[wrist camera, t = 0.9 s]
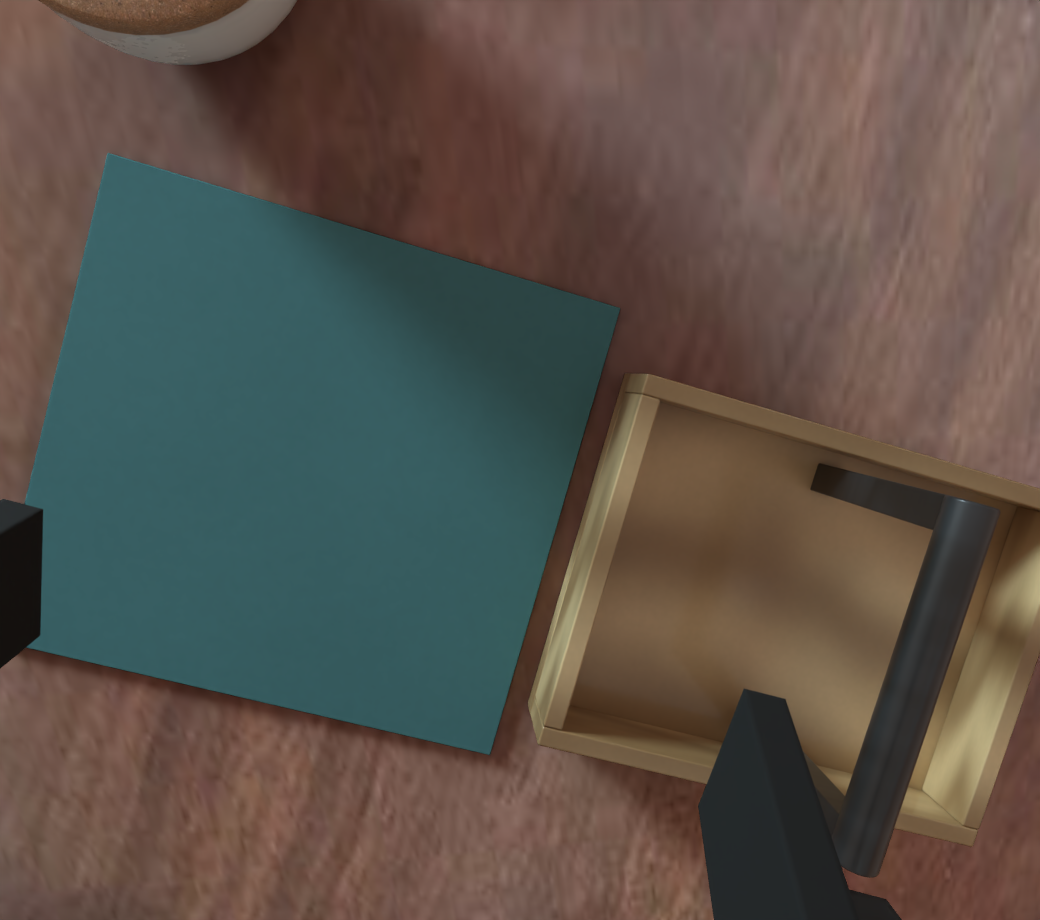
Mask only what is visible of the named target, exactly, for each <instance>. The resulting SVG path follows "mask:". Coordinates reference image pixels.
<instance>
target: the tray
mask: <svg viewBox="0 0 1040 920" xmlns="http://www.w3.org/2000/svg"><path fill="white" fill-rule="evenodd" d="M1039 654H1040V489H1039V488H1035V487H1032V486H1029V485H1025V484H1022V483H1018V482H1015V481H1012V480H1008V479H1005V478H1001V477H998V476H995V475H991V474H988V473H985V472H981V471H978V470H974V469H971V468H968V467H964V466H961V465H957V464H954V463H951V462H947V461H944V460H940V459H937V458H934V457H930V456H927V455H923V454H920V453H917V452H913V451H910V450H906V449H903V448H900V447H896V446H893V445H889V444H886V443H883V442H879V441H876V440H872V439H869V438H866V437H862V436H859V435H855V434H852V433H849V432H845V431H842V430H838V429H835V428H832V427H828V426H825V425H821V424H818V423H815V422H811V421H808V420H804V419H801V418H798V417H794V416H791V415H787V414H784V413H781V412H777V411H774V410H770V409H767V408H764V407H760V406H757V405H753V404H750V403H747V402H743V401H740V400H736V399H733V398H730V397H726V396H723V395H719V394H716V393H713V392H709V391H706V390H703V389H699V388H696V387H692V386H689V385H686V384H682V383H679V382H675V381H672V380H669V379H665V378H662V377H658V376H655V375H652V374H631V373H625V374H624V378H623V381H622V384H621V388H620V391H619V395H618V398H617V401H616V405H615V408H614V412H613V415H612V418H611V422H610V425H609V429H608V432H607V435H606V439H605V442H604V446H603V449H602V452H601V456H600V459H599V463H598V466H597V469H596V473H595V476H594V480H593V483H592V486H591V490H590V493H589V497H588V500H587V503H586V507H585V510H584V514H583V517H582V520H581V524H580V527H579V531H578V534H577V537H576V541H575V544H574V548H573V551H572V554H571V558H570V561H569V565H568V568H567V571H566V575H565V578H564V582H563V585H562V588H561V592H560V595H559V599H558V602H557V605H556V609H555V612H554V616H553V619H552V622H551V626H550V629H549V633H548V636H547V639H546V643H545V646H544V650H543V653H542V656H541V660H540V663H539V667H538V670H537V673H536V677H535V680H534V684H533V687H532V690H531V694H530V697H529V701H528V708H529V712H530V714H531V718H532V723H533V727H534V731H535V735H536V739H537V743H538V745H541V746H545V747H549V748H553V749H558V750H562V751H566V752H570V753H575V754H579V755H583V756H587V757H592V758H596V759H600V760H604V761H609V762H613V763H617V764H621V765H626V766H630V767H634V768H638V769H643V770H647V771H651V772H656V773H660V774H664V775H668V776H673V777H677V778H681V779H685V780H690V781H694V782H698V783H702V784H707V782H708V780H709V777H710V774H711V772H712V769H713V767H714V764H715V762H716V759H717V756H718V754H719V751H720V749H721V746H722V743H723V741H724V738H725V736H726V733H727V731H728V728H729V725H730V723H731V720H732V718H733V715H734V713H735V710H736V707H737V705H738V702H739V700H740V697H741V695H742V692H743V689H748V690H752V691H756V692H760V693H764V694H768V695H772V696H776V697H780V698H784V699H786V702H787V705H788V708H789V711H790V714H791V717H792V720H793V723H794V726H795V729H796V732H797V735H798V738H799V741H800V744H801V747H802V750H803V753H804V756H805V759H806V762H807V765H808V768H809V771H810V774H811V777H812V780H813V783H814V786H815V789H816V792H817V795H818V798H819V801H820V804H821V807H822V810H823V813H824V816H825V819H826V822H827V825H828V828H829V831H830V834H831V837H832V840H833V843H834V846H835V849H836V852H837V855H838V858H839V861H840V864H841V866H842V867H843V868H845V869H847V870H849V871H851V872H853V873H855V874H858V875H861V876H864V877H876V876H877V875H878V874H879V872H880V869H881V866H882V863H883V860H884V857H885V854H886V851H887V848H888V845H889V842H890V839H891V836H892V833H893V830H894V829H898V830H902V831H907V832H911V833H915V834H919V835H924V836H928V837H932V838H936V839H941V840H945V841H949V842H953V843H958V844H962V845H966V846H970V847H972V846H973V844H974V842H975V839H976V836H977V833H978V830H977V829H979V827H980V825H981V822H982V819H983V816H984V813H985V810H986V807H987V804H988V801H989V799H990V796H991V793H992V790H993V787H994V784H995V781H996V778H997V775H998V773H999V770H1000V767H1001V764H1002V761H1003V758H1004V755H1005V752H1006V749H1007V747H1008V744H1009V741H1010V738H1011V735H1012V732H1013V729H1014V726H1015V723H1016V721H1017V718H1018V715H1019V712H1020V709H1021V706H1022V703H1023V700H1024V697H1025V694H1026V692H1027V689H1028V686H1029V683H1030V680H1031V677H1032V674H1033V671H1034V668H1035V666H1036V663H1037V660H1038V657H1039Z"/></svg>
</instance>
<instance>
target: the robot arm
mask: <svg viewBox="0 0 1040 920" xmlns="http://www.w3.org/2000/svg"><path fill="white" fill-rule="evenodd" d="M42 543H43V509H40V508H36V507H33V506H29V505H25V504H21V503H17V502H13V501H9V500H5V499H2V500H0V668H1V667H3V666H4V665H5V664H6V663H7V662H9V661H10V660H11V659H12V658H14V657H15V656H16V655H17V654H18V653H20V652H21V651H22V650H23V649H25V648H26V647H27V646H28V645H29V644H31V643H32V642H33V641H34V640H36V639H37V638H38V637H39V636H40V631H41V587H42ZM698 808H699V815H700V822H701V829H702V837H703V844H704V851H705V858H706V865H707V873H708V880H709V887H710V894H711V901H712V909H713V916H714V920H901V918H900V917H899V916H898V914H897V913H896V912H895V910H894V909H893V908H892V906H891V905H890V904H889V902H888V901H887V900H886V899H883V898H879V897H875V896H871V895H868V894H864V893H860V892H856V891H852V890H849V888H848V885H847V882H846V879H845V876H844V873H843V870H842V867H841V864H840V861H839V858H838V855H837V852H836V849H835V846H834V843H833V840H832V837H831V834H830V831H829V828H828V825H827V822H826V819H825V816H824V813H823V810H822V807H821V804H820V801H819V798H818V795H817V792H816V789H815V786H814V783H813V780H812V777H811V774H810V771H809V768H808V765H807V762H806V759H805V756H804V753H803V750H802V747H801V744H800V741H799V738H798V735H797V732H796V729H795V726H794V723H793V720H792V717H791V714H790V711H789V708H788V705H787V702H786V699H784V698H780V697H776V696H772V695H768V694H764V693H760V692H756V691H752V690H748V689H743V692H742V695H741V697H740V700H739V702H738V705H737V707H736V710H735V713H734V715H733V718H732V720H731V723H730V725H729V728H728V731H727V733H726V736H725V738H724V741H723V743H722V746H721V749H720V751H719V754H718V756H717V759H716V762H715V764H714V767H713V769H712V772H711V774H710V777H709V780H708V782H707V785H706V787H705V790H704V792H703V795H702V798H701V800H700V803H699V805H698Z"/></svg>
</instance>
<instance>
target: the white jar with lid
mask: <svg viewBox="0 0 1040 920" xmlns="http://www.w3.org/2000/svg"><path fill="white" fill-rule="evenodd" d="M39 1H40V2H42V3H43V4H45V5H46V6H47V7H49V8H50V9H51V10H52V11H54V12H55V13H56V14H57V15H59V16H60V17H61V18H63V19H64V20H66V21H67V22H69V23H70V24H72V25H73V26H75V27H76V28H78V29H79V30H81V31H82V32H84V33H86V34H87V35H89V36H91V37H92V38H94V39H96V40H98V41H100V42H102V43H104V44H106V45H108V46H110V47H112V48H114V49H117V50H119V51H121V52H124V53H127V54H130V55H133V56H136V57H139V58H143V59H146V60H149V61H153V62H159V63H166V64H173V65H196V64H204V63H209V62H215V61H220V60H224V59H227V58H230V57H232V56H235V55H238V54H241V53H243V52H244V51H246V50H248V49H250V48H252V47H253V46H255V45H257V44H259V43H260V42H261V41H262V40H263V39H265V38H266V37H267V36H268V35H270V34H271V33H272V32H273V31H274V30H275V29H276V28H277V27H278V26H279V25H280V23H281V22H282V21H283V20H284V19H285V18H286V16H287V15H288V14H289V13H290V11H291V10H292V8H293V6H294V5H295V3H296V1H297V0H39Z"/></svg>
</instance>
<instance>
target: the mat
mask: <svg viewBox="0 0 1040 920" xmlns="http://www.w3.org/2000/svg"><path fill="white" fill-rule="evenodd" d="M619 311H620V308H618V307H615V306H612V305H608V304H605V303H602V302H598V301H595V300H592V299H589V298H585V297H582V296H579V295H575V294H572V293H569V292H565V291H562V290H559V289H556V288H552V287H549V286H546V285H542V284H539V283H536V282H532V281H529V280H526V279H523V278H519V277H516V276H513V275H509V274H506V273H503V272H499V271H496V270H493V269H490V268H486V267H483V266H480V265H476V264H473V263H470V262H466V261H463V260H460V259H457V258H453V257H450V256H447V255H443V254H440V253H437V252H433V251H430V250H427V249H423V248H420V247H417V246H414V245H410V244H407V243H404V242H400V241H397V240H394V239H390V238H387V237H384V236H381V235H377V234H374V233H371V232H367V231H364V230H361V229H357V228H354V227H351V226H348V225H344V224H341V223H338V222H334V221H331V220H328V219H324V218H321V217H318V216H315V215H311V214H308V213H305V212H301V211H298V210H295V209H291V208H288V207H285V206H281V205H278V204H275V203H272V202H268V201H265V200H262V199H258V198H255V197H252V196H248V195H245V194H242V193H239V192H235V191H232V190H229V189H225V188H222V187H219V186H215V185H212V184H209V183H206V182H202V181H199V180H196V179H192V178H189V177H186V176H182V175H179V174H176V173H173V172H169V171H166V170H163V169H159V168H156V167H153V166H149V165H146V164H143V163H140V162H136V161H133V160H130V159H126V158H123V157H120V156H116V155H113V154H110V153H108V154H107V158H106V163H105V167H104V171H103V175H102V179H101V184H100V188H99V192H98V196H97V201H96V205H95V209H94V213H93V217H92V222H91V226H90V230H89V234H88V239H87V243H86V247H85V251H84V256H83V260H82V264H81V268H80V272H79V277H78V281H77V285H76V289H75V294H74V298H73V302H72V306H71V310H70V315H69V319H68V323H67V327H66V332H65V336H64V340H63V344H62V348H61V353H60V357H59V361H58V365H57V370H56V374H55V378H54V382H53V386H52V391H51V395H50V399H49V403H48V408H47V412H46V416H45V420H44V425H43V429H42V433H41V437H40V441H39V446H38V450H37V454H36V458H35V463H34V467H33V471H32V475H31V479H30V484H29V488H28V492H27V496H26V501H25V505H29V506H33V507H36V508H40V509H43V543H42V587H41V631H40V636H39V637H38V638H37V639H36V640H34V641H33V642H32V643H31V644H29V645H28V646H27V647H26V648H30V649H35V650H39V651H43V652H48V653H52V654H56V655H60V656H65V657H69V658H73V659H78V660H82V661H86V662H91V663H95V664H99V665H104V666H108V667H112V668H117V669H121V670H125V671H129V672H134V673H138V674H142V675H147V676H151V677H155V678H160V679H164V680H168V681H173V682H177V683H181V684H186V685H190V686H194V687H199V688H203V689H207V690H211V691H216V692H220V693H224V694H229V695H233V696H237V697H242V698H246V699H250V700H255V701H259V702H263V703H268V704H272V705H276V706H280V707H285V708H289V709H293V710H298V711H302V712H306V713H311V714H315V715H319V716H324V717H328V718H332V719H337V720H341V721H345V722H349V723H354V724H358V725H362V726H367V727H371V728H375V729H380V730H384V731H388V732H393V733H397V734H401V735H406V736H410V737H414V738H418V739H423V740H427V741H431V742H436V743H440V744H444V745H449V746H453V747H457V748H462V749H466V750H470V751H475V752H479V753H483V754H487V755H490V753H491V750H492V746H493V743H494V740H495V736H496V733H497V729H498V726H499V722H500V719H501V716H502V712H503V709H504V705H505V702H506V698H507V695H508V692H509V688H510V685H511V681H512V678H513V674H514V671H515V668H516V664H517V661H518V657H519V654H520V651H521V647H522V644H523V640H524V637H525V633H526V630H527V627H528V623H529V620H530V616H531V613H532V609H533V606H534V603H535V599H536V596H537V592H538V589H539V585H540V582H541V579H542V575H543V572H544V568H545V565H546V561H547V558H548V555H549V551H550V548H551V544H552V541H553V537H554V534H555V531H556V527H557V524H558V520H559V517H560V513H561V510H562V507H563V503H564V500H565V496H566V493H567V489H568V486H569V483H570V479H571V476H572V472H573V469H574V466H575V462H576V459H577V455H578V452H579V448H580V445H581V442H582V438H583V435H584V431H585V428H586V424H587V421H588V418H589V414H590V411H591V407H592V404H593V400H594V397H595V394H596V390H597V387H598V383H599V380H600V376H601V373H602V370H603V366H604V363H605V359H606V356H607V352H608V349H609V346H610V342H611V339H612V335H613V332H614V328H615V325H616V322H617V318H618V315H619Z"/></svg>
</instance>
